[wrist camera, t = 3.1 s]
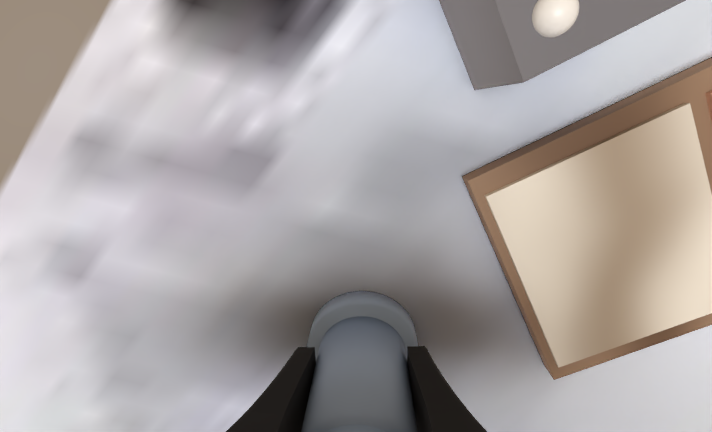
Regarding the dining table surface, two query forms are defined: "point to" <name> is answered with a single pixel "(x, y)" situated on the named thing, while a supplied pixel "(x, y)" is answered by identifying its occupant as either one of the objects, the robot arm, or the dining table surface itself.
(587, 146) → the game board
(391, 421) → the pawn
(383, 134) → the dining table surface
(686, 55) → the dining table surface
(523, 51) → the die
